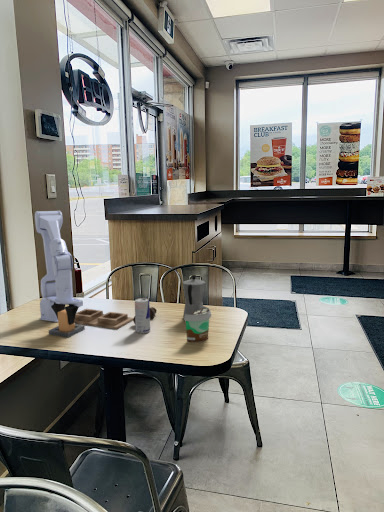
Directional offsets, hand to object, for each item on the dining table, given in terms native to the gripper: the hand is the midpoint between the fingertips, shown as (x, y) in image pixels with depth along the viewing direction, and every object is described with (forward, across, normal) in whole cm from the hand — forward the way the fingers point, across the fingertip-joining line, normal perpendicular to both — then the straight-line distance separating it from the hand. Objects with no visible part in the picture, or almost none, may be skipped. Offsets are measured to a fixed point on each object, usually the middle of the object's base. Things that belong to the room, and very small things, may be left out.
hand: (66, 323), depth 142 cm
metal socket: (+3, 0, 0) cm, 3 cm away
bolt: (+4, +21, +23) cm, 31 cm away
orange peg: (+2, 0, 0) cm, 2 cm away
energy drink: (+3, +26, +11) cm, 28 cm away
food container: (+3, +49, +12) cm, 51 cm away
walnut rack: (+3, +4, +15) cm, 16 cm away
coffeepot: (+3, +38, +31) cm, 49 cm away
